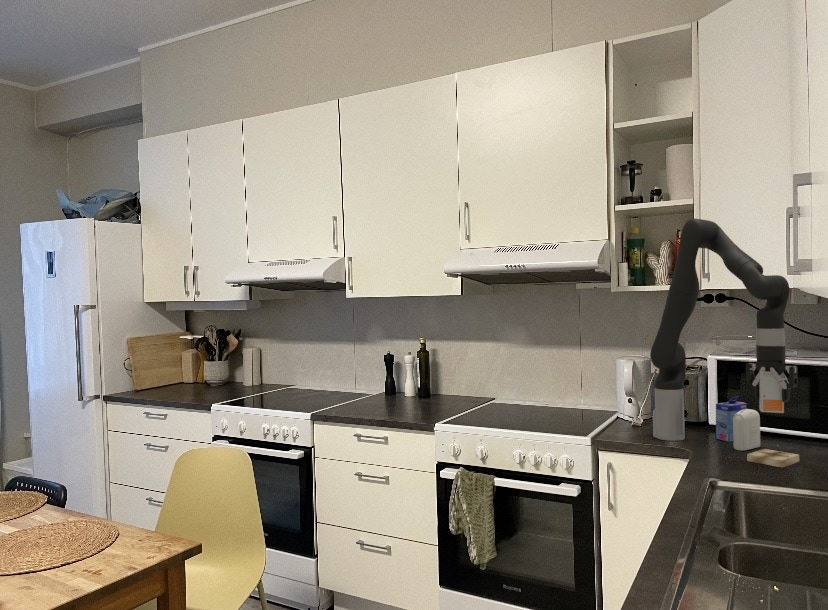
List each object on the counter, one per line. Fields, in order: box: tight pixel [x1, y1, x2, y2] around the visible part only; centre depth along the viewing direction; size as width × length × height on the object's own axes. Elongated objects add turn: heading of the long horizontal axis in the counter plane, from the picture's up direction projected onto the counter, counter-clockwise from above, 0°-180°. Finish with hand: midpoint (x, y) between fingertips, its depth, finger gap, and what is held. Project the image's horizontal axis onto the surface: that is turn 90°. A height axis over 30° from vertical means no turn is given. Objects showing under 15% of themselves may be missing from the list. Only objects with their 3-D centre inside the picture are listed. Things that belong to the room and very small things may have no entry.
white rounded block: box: [732, 408, 761, 452], centre depth 208 cm, size 10×4×12 cm, turn 123°
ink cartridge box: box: [715, 395, 748, 443], centre depth 221 cm, size 10×6×14 cm, turn 119°
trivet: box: [746, 448, 800, 468], centre depth 192 cm, size 10×10×2 cm
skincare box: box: [758, 371, 785, 414], centre depth 192 cm, size 6×4×12 cm
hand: (771, 400), depth 192 cm, fingers closed on skincare box, 7 cm apart
